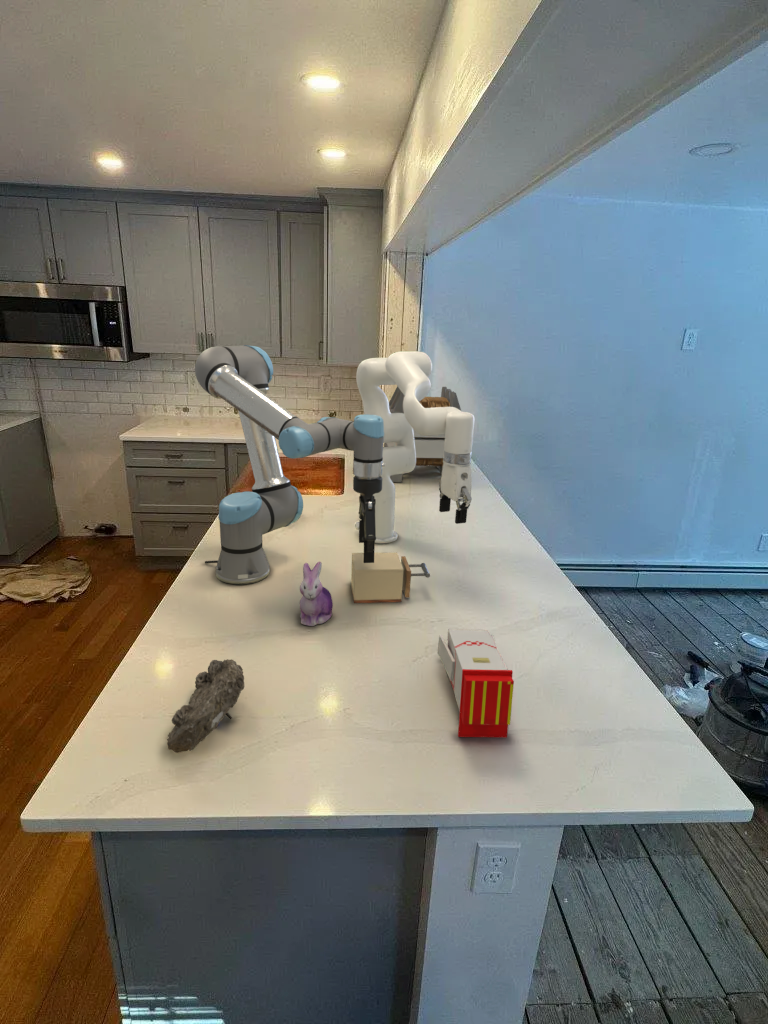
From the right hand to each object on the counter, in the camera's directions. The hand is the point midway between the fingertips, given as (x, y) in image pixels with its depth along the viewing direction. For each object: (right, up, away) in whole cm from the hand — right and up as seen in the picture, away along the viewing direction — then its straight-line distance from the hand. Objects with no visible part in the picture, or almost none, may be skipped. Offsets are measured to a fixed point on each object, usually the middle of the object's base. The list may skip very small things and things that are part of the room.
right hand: (452, 517), depth 160 cm
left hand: (-24, -9, -7) cm, 27 cm away
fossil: (-52, -38, -51) cm, 82 cm away
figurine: (-37, -25, -16) cm, 47 cm away
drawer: (-16, -20, -1) cm, 26 cm away
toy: (-1, -36, -41) cm, 55 cm away
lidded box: (-22, -21, -2) cm, 30 cm away
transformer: (-2, +20, +115) cm, 117 cm away
